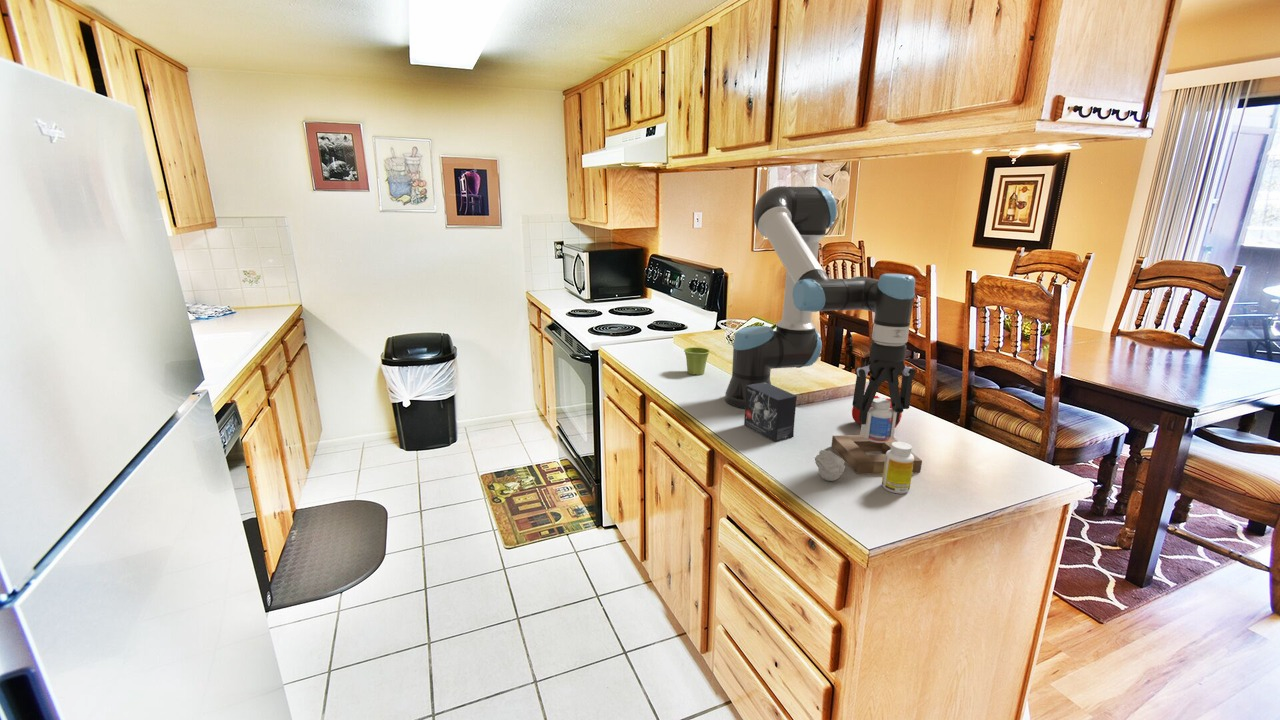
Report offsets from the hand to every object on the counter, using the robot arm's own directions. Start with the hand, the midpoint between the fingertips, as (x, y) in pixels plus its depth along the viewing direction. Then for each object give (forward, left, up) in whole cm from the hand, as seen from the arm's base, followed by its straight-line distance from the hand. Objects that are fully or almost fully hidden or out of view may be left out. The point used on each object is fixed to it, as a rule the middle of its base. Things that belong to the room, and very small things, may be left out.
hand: (876, 435), depth 132 cm
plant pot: (-73, -32, -6) cm, 80 cm away
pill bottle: (0, 0, -1) cm, 1 cm away
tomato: (-20, +10, -6) cm, 23 cm away
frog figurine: (+10, -15, -6) cm, 19 cm away
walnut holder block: (0, 0, -6) cm, 6 cm away
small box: (-18, -21, -6) cm, 28 cm away
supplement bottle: (+14, -2, -6) cm, 16 cm away
